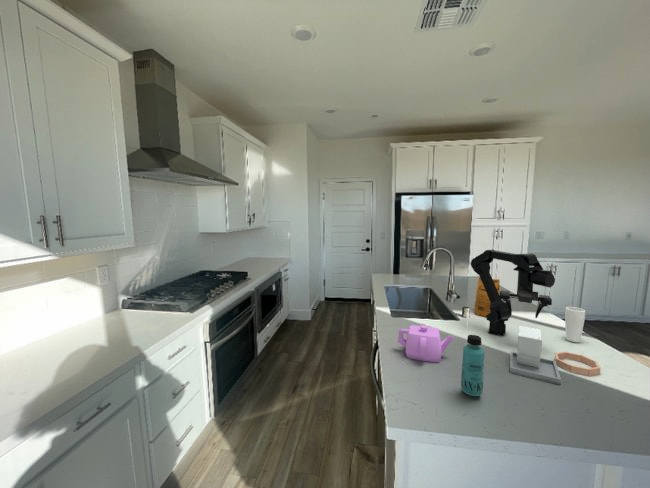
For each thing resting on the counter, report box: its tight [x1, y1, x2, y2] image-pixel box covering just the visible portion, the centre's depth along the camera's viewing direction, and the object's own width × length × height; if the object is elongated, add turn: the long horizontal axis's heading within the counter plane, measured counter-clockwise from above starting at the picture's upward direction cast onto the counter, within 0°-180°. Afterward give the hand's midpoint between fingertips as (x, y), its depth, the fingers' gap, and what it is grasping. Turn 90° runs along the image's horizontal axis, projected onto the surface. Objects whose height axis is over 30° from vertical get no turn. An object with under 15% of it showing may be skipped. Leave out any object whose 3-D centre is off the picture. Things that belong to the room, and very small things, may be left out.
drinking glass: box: [564, 306, 586, 343], centre depth 130 cm, size 7×7×15 cm
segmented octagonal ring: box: [553, 351, 601, 377], centre depth 109 cm, size 13×13×2 cm
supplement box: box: [516, 325, 543, 368], centre depth 110 cm, size 7×7×13 cm
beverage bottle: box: [460, 334, 486, 397], centre depth 92 cm, size 6×7×20 cm
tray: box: [509, 351, 562, 386], centre depth 108 cm, size 15×15×2 cm
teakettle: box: [397, 323, 454, 363], centre depth 120 cm, size 17×17×12 cm
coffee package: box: [473, 276, 501, 318], centre depth 164 cm, size 10×12×22 cm
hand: (523, 316), depth 127 cm, fingers open, 9 cm apart
